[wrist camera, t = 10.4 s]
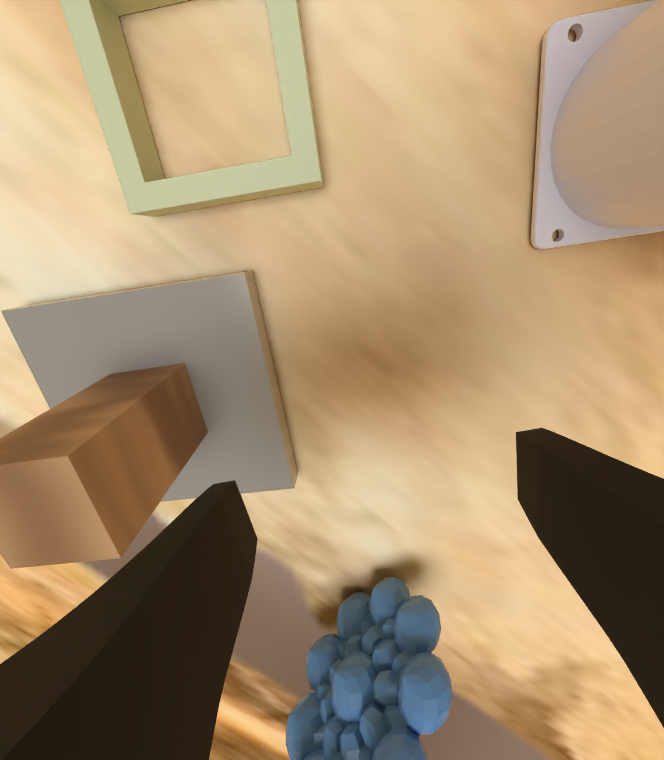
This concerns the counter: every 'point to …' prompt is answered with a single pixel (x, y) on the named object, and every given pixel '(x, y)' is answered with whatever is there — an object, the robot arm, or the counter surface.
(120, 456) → the walnut block
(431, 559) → the counter surface
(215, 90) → the counter surface
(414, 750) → the grapes
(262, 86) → the counter surface
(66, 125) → the counter surface
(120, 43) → the pocket holder
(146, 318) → the grey metal plate
